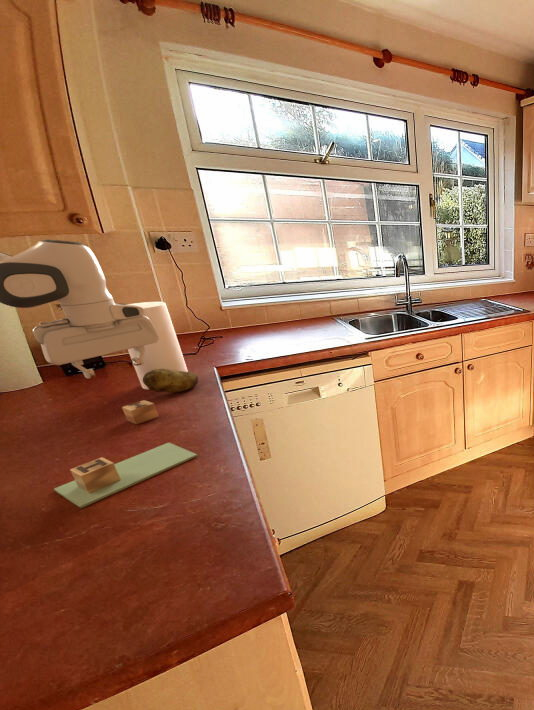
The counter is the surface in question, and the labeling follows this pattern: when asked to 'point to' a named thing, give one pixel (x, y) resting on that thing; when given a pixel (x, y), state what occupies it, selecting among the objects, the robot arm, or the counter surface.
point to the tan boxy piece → (140, 412)
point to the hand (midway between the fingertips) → (116, 370)
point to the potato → (169, 380)
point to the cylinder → (159, 343)
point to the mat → (130, 473)
